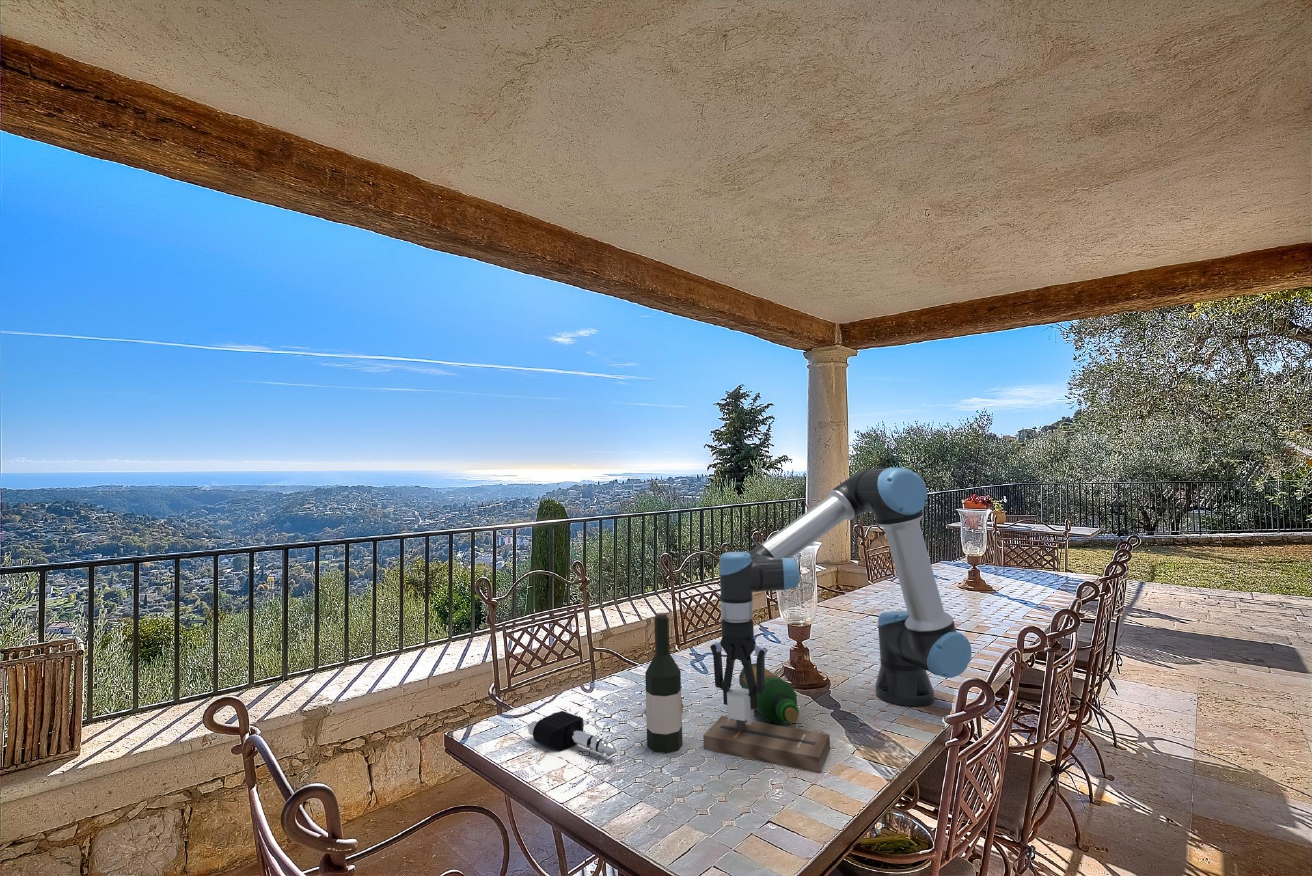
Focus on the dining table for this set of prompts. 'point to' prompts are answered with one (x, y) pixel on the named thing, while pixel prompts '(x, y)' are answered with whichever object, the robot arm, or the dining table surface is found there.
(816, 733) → the fader board
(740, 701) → the fader knob
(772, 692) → the bottle
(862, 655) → the dining table surface
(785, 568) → the robot arm
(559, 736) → the audio adapter
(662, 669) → the wine bottle
